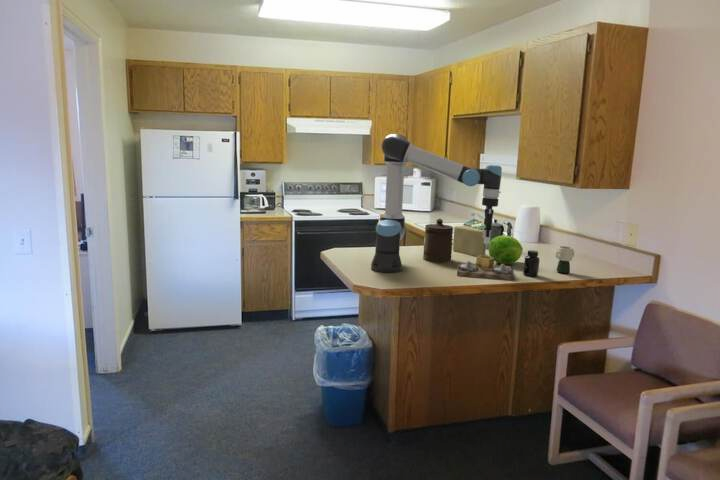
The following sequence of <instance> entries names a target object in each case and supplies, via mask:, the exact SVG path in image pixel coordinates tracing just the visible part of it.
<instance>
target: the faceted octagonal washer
mask: <svg viewBox="0 0 720 480" xmlns="http://www.w3.org/2000/svg"><path fill="white" fill-rule="evenodd" d="M475 264H476V267H478V268H481V269H492V268H493V266H494V265H495V260H494V257H492V256H490V255H486V254H485V255H479V256H477V257H476V261H475Z"/></svg>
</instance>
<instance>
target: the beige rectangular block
mask: <svg viewBox="0 0 720 480" xmlns="http://www.w3.org/2000/svg"><path fill="white" fill-rule="evenodd" d="M486 250H487V249H486V243H484V238H483V230H482V229H478V228H473V227H471V226H469V225H455V226H454V227H453V239H452V251H453V252H457V253H460V254H465V255H469V256H471V257H472V256H473V257H476V258H477V256H479V255H486Z"/></svg>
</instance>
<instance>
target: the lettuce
mask: <svg viewBox="0 0 720 480" xmlns="http://www.w3.org/2000/svg"><path fill="white" fill-rule="evenodd" d="M487 251H488V254H489V255H488V256H492V257H494V262H496V263H498V264H500V265H501V264H504V265H511V264H513V263H515V262H517V261H518V260H519V259H520V258H521V256H522V254H523V251H524V249H523V246H522V244H521V242H519V240H518V239H517V238H516V237H513V236H511V235H506V234H505V235H504V234H503V235H501V236H497V237H495V238H493V239H492V240H491V241H490V243H489V249H488V250H487Z"/></svg>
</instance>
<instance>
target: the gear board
mask: <svg viewBox="0 0 720 480" xmlns="http://www.w3.org/2000/svg"><path fill="white" fill-rule="evenodd" d="M456 272H457V273H456V276H459V277H468V278H469V277H470V278H479V277H480V278H481V279H482V278H483V279H490V278H491V279H493V280H505V281H515V275H514V269H512V267H511V266H510V265H506V264H500V265H497V264H494V266H493V268H492V269H481V268H478V267H476V262H475V263H472V262H471V261H469V260H468V261H466V262H463V261H462V262H461V261H460V262H459V261H457V269H456Z"/></svg>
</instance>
